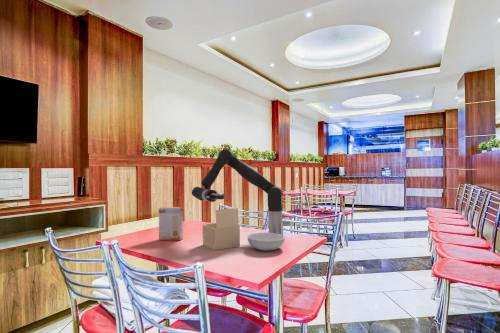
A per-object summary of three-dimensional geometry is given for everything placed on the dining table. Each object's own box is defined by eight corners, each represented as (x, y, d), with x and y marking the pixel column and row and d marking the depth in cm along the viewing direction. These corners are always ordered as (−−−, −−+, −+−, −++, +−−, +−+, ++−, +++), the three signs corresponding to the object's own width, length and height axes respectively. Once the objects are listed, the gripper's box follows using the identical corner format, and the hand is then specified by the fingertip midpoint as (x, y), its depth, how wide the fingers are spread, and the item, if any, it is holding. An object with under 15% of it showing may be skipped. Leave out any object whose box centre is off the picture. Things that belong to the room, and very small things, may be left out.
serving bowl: (279, 255, 146) (279, 242, 146) (242, 252, 153) (241, 239, 154) (288, 245, 166) (288, 233, 166) (254, 242, 173) (254, 231, 173)
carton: (201, 244, 169) (201, 224, 169) (226, 240, 179) (226, 221, 179) (214, 251, 155) (213, 229, 156) (240, 246, 165) (240, 225, 165)
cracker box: (183, 238, 184) (183, 206, 185) (180, 241, 178) (179, 207, 179) (162, 238, 186) (162, 206, 186) (158, 240, 180) (158, 207, 180)
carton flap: (215, 210, 157) (216, 210, 157) (237, 208, 165) (237, 208, 164) (216, 228, 156) (216, 228, 156) (238, 225, 164) (238, 225, 164)
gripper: (199, 189, 176) (212, 191, 162) (218, 189, 184) (232, 190, 169) (199, 201, 176) (212, 204, 162) (218, 200, 184) (232, 203, 169)
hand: (222, 197), depth 166 cm, fingers closed
